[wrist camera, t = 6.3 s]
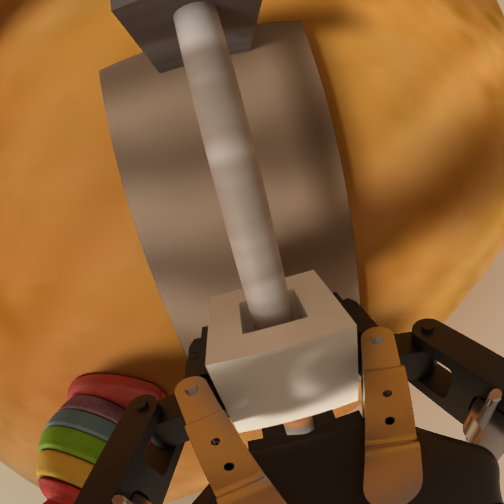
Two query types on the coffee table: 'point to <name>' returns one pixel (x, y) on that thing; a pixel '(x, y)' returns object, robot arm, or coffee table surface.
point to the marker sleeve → (283, 356)
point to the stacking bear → (83, 431)
